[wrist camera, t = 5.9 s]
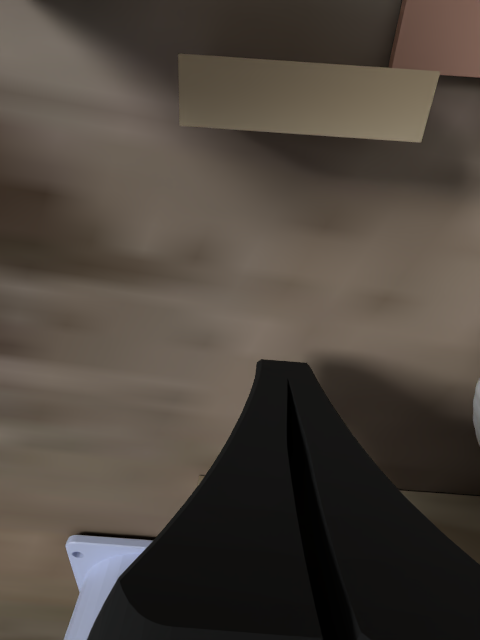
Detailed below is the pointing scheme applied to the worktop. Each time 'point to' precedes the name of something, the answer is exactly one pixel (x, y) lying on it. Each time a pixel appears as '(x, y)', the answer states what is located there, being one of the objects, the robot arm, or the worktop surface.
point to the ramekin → (477, 411)
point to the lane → (350, 128)
